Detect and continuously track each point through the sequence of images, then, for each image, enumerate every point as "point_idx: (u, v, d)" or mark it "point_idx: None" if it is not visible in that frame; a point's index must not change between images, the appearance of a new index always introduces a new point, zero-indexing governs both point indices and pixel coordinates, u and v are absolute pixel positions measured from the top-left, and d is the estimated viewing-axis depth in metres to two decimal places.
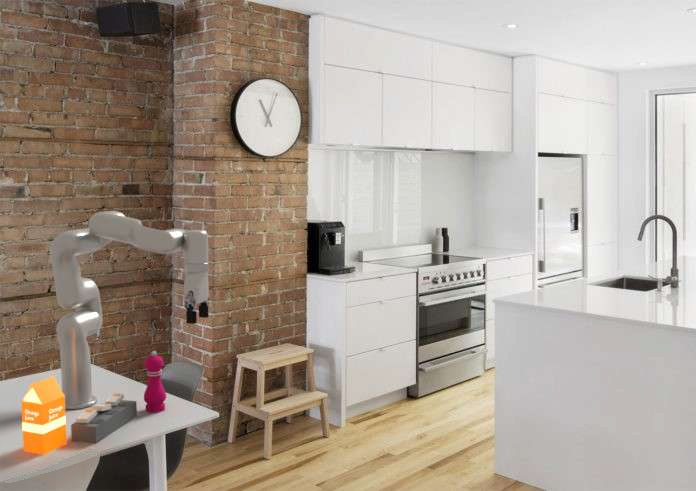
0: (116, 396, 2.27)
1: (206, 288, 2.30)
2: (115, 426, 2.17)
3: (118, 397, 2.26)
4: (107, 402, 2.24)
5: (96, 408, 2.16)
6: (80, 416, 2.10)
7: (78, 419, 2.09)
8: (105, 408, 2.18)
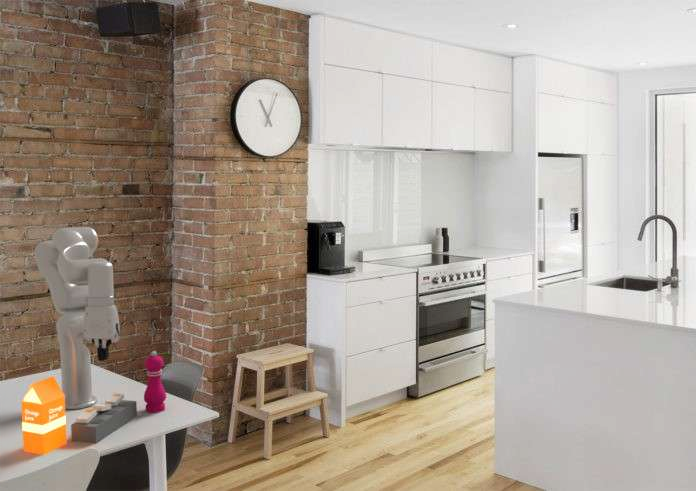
0: (116, 396, 2.27)
1: None
2: (115, 426, 2.17)
3: (118, 397, 2.26)
4: (107, 402, 2.24)
5: (96, 408, 2.16)
6: (80, 416, 2.10)
7: (78, 419, 2.09)
8: (105, 408, 2.18)
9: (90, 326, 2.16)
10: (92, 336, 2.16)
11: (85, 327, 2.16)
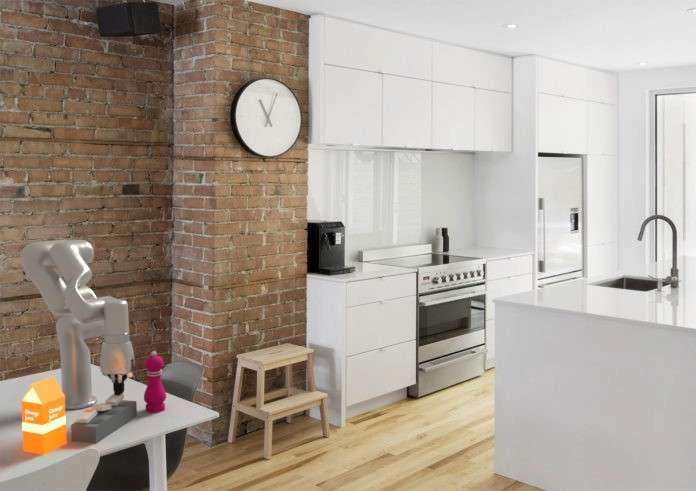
0: (116, 396, 2.27)
1: None
2: (115, 426, 2.17)
3: (118, 397, 2.26)
4: (107, 402, 2.24)
5: (96, 408, 2.16)
6: (80, 416, 2.10)
7: (78, 419, 2.09)
8: (105, 408, 2.18)
9: (106, 362, 2.25)
10: (109, 372, 2.25)
11: (102, 363, 2.26)
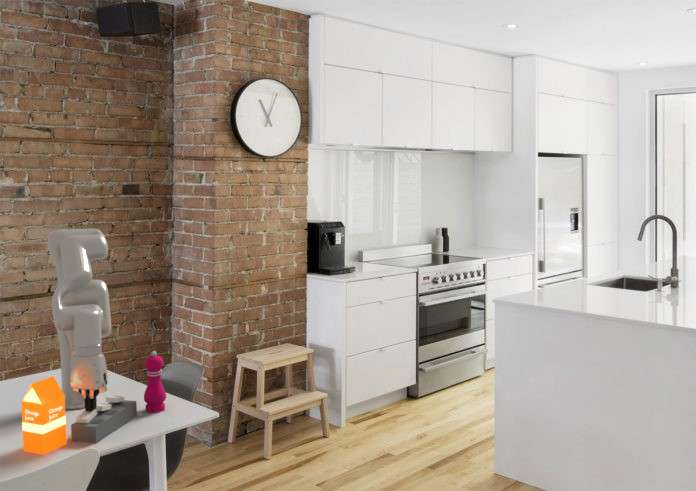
0: (117, 396, 2.27)
1: None
2: (115, 426, 2.17)
3: (119, 397, 2.27)
4: (108, 398, 2.24)
5: (96, 408, 2.16)
6: (80, 416, 2.10)
7: (78, 419, 2.09)
8: (105, 408, 2.18)
9: (77, 376, 2.09)
10: (79, 386, 2.10)
11: (72, 377, 2.10)
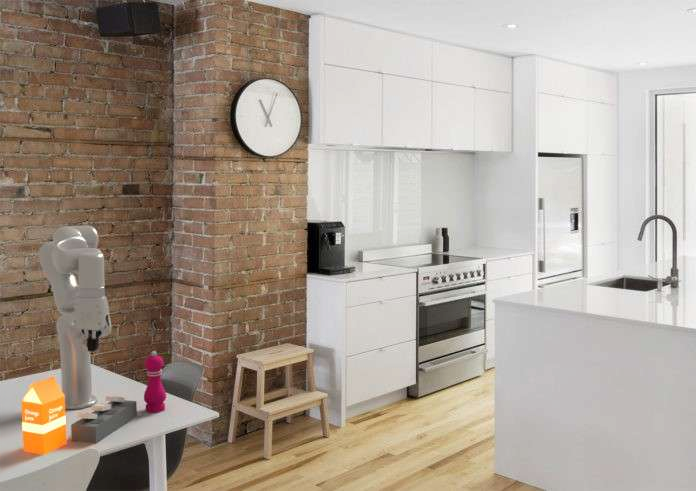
0: None
1: None
2: (115, 426, 2.17)
3: (119, 397, 2.27)
4: (108, 397, 2.25)
5: (96, 408, 2.16)
6: None
7: (79, 414, 2.09)
8: (105, 408, 2.18)
9: (80, 317, 2.16)
10: (82, 327, 2.16)
11: (75, 317, 2.16)
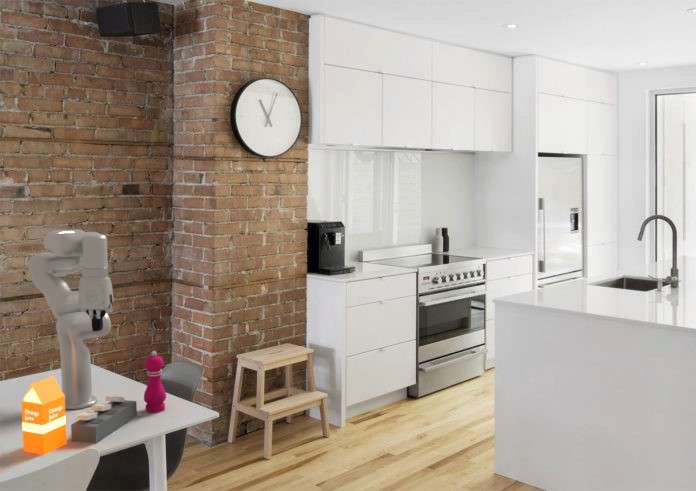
0: None
1: None
2: (115, 426, 2.17)
3: (119, 397, 2.27)
4: (108, 397, 2.25)
5: (96, 408, 2.16)
6: (81, 414, 2.10)
7: (78, 416, 2.09)
8: (105, 408, 2.18)
9: (84, 297, 2.21)
10: (87, 307, 2.21)
11: (80, 298, 2.21)
